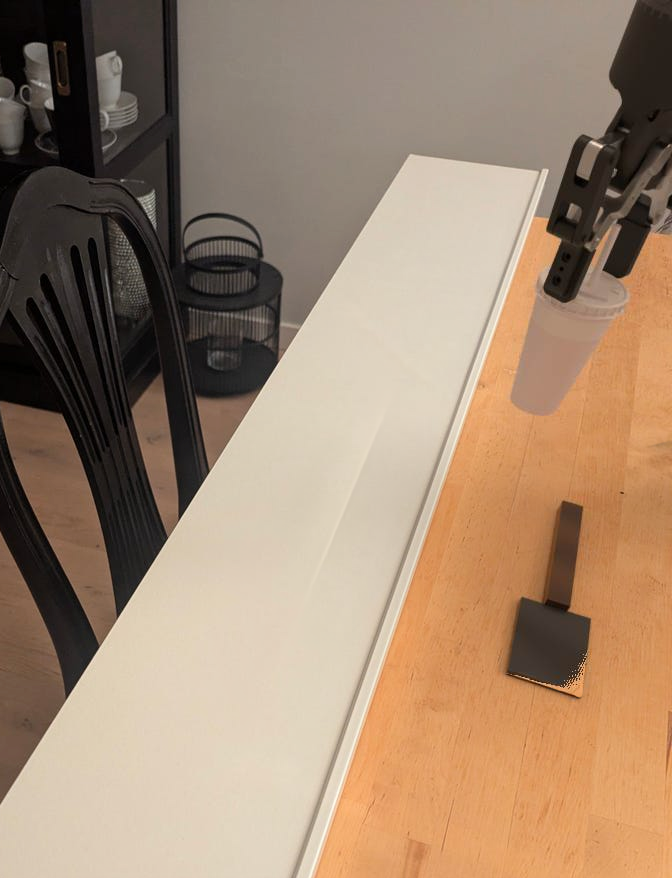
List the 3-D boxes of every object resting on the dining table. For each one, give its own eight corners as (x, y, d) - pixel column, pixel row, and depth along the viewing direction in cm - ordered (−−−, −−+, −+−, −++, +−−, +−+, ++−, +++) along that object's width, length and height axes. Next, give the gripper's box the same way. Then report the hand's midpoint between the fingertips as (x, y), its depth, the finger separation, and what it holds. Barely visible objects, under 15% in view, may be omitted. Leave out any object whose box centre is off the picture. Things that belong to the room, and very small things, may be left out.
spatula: (537, 503, 89) (541, 493, 88) (599, 521, 87) (604, 512, 87) (505, 674, 73) (510, 664, 72) (580, 698, 72) (586, 689, 71)
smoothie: (525, 432, 68) (606, 249, 58) (476, 385, 72) (543, 204, 61) (592, 418, 70) (681, 238, 60) (540, 373, 74) (616, 196, 63)
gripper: (705, 38, 46) (571, 338, 59) (828, 8, 53) (685, 282, 65) (581, -5, 50) (480, 287, 62) (711, -27, 56) (596, 239, 69)
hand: (585, 284), depth 64 cm, fingers closed on smoothie, 6 cm apart
